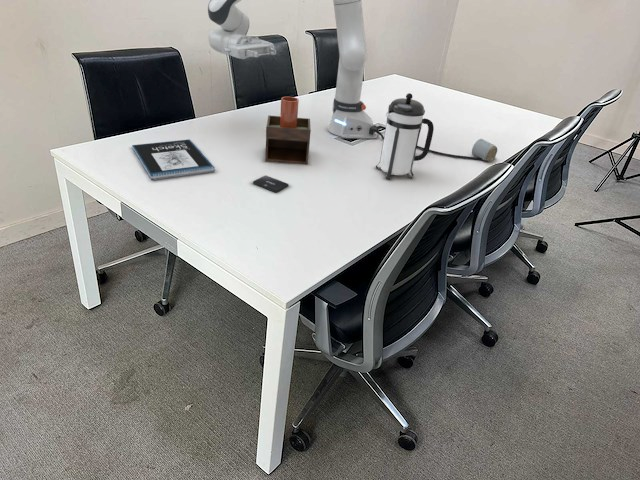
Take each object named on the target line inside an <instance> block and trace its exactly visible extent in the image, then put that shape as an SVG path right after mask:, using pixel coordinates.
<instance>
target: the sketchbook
mask: <svg viewBox="0 0 640 480" xmlns="http://www.w3.org/2000/svg"><path fill="white" fill-rule="evenodd" d="M131 147H132V150H133V151H134V153H135V154H136V156H137V158H138V159H139V161H140V163H141V165H142V166H143V168H144V169H145V171H146V173H147V175H148V176H149V178H150V179H151V180H153V181H156V180H157V181H159V180H164V179H172V178H179V177H185V176H186V177H187V176H195V175H200V174H207V173H208V174H209V173H214V172H215V171H216V167H215V166H214V165H213V164H212V163H211V162H210V161H209V159H208V158H207V157H206V156H205V155H204V154H203V152H201V150H200V149H199V148H198V147H197V146H196V145H195V144H194V143H193V142H192V140H191V139H190V138H189V139H180V140H170V141H169V140H168V141H161V142H149V143H140V144H139V143H138V144H132V145H131Z"/></svg>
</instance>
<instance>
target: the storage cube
mask: <svg viewBox="0 0 640 480" xmlns="http://www.w3.org/2000/svg"><path fill="white" fill-rule="evenodd" d="M311 127H312V126H311V118H308V117H307V118H306V117H297V128H286V127H280V115H269V114H268V115H267V121H266V126H265V154H264V155H265V156H264V158H265V159H264V161H265V163H278V164H279V163H280V164H281V163H282V164H294V165H308V164H309V155H310V142H311V131H312V129H311Z"/></svg>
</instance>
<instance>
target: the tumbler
mask: <svg viewBox="0 0 640 480" xmlns="http://www.w3.org/2000/svg"><path fill="white" fill-rule="evenodd" d="M299 101H300V100H299V98H298V97H295V96H282V97H281V98H280V114H279V116H280V127H286V128H297V118H299V117H298V116H299V103H300V102H299Z"/></svg>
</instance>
